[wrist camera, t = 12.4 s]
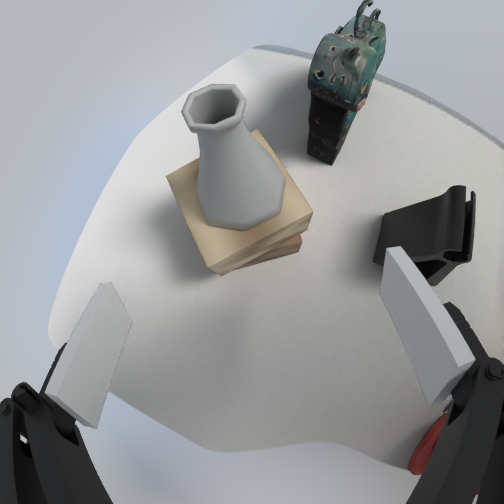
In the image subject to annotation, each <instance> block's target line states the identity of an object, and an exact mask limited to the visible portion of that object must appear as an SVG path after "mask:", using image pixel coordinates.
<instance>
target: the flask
mask: <svg viewBox="0 0 504 504" xmlns="http://www.w3.org/2000/svg"><path fill="white" fill-rule="evenodd" d="M245 106H246V98H245V97H244V96H243V94H242V93H241V92H240V90H239V89H238V88H237V86H236V85H235V84H211V85H208V86H206V87H204V88H202V89H199V90H197V91H195V92H193V93H190V94H189V96H188V98H187V100H186V102H185V104H184V107H183V109H182V111H181V112H182V115H183V117H184V119H185V121H186V123H187V125H188V127H189V129H190V131H191V132H192V133H197V135H198V141H199V147H200V160H199V173H198V180H197V187H196V196H197V199H198V201H199V203H200V205H201V208H202V210H203V212H204V214H205V217H206V219H207V221H208V223H209V225H213V226H220V227H226V228H232V229H239V230H245V231H246V230H248V229H250V228H252V227H254V226H256V225H258V224H260V223H262V222H265V221H267V220H269V219H271V218H273V217H275V216H277V215H279V214H281V208H282V202H283V196H284V191H285V185H286V179H285V177H284V175H283V174H282V172H281V171H280V169H279V167H278V166H277V164H276V163H275V161H274V159H273V158H272V156H271V155H270V153H269V152H268V151H267V150H266V149H265V148H264V147H263V146H262V145H261V144H260V143H259V142H258V141H257V140H256V139H255V138H254V137H253V135H252V134H251V133H250V132H249V131H248V129H247V127H246V125H245V121H244V117H243V113H244V109H245Z"/></svg>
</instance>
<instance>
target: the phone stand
mask: <svg viewBox="0 0 504 504" xmlns="http://www.w3.org/2000/svg"><path fill="white" fill-rule="evenodd" d="M465 200H466V186H461V185H456V186H452V187H450V188H449V189H448V190H447V191H446V192H445V193H444V194H443V195H441V196H438V197H435V198H432V199H429V200H426V201H422V202H419V203H416V204H413V205H410V206H407V207H404V208H401V209H397V210H394V211H391V212H388V213H385V214H384V218H383V223H382V227H381V232H380V236H379V240H378V244H377V248H376V252H375V256H374V260H373V262H374V263H377V264H380V265H382V266H384V262H385V255H386V248H391V247H398V246H401V247H402V249H403V250H404V251H405V252H406V254H407V255H408V256H409V258H410V259H411V260H412V262H413V263H414V264H415V266H416V267H417V268H418V270H419V271H420V272H421V274H422V275H423V276H424V278H425V279H426V281H427V282H428V283H429V284H431V285H433V286H436V285H437V284H438V283H440V282H441V281H442V280H443V279H444V278H445V277H446V276H447V275H448V274H449V273H450V272H451V271H452V270H453V269H454V268H455V267H456V266H457V265H460V264H463V263H467V262H470V261H471V259H472V250H473V241H474V228H475V209H476V195H475V192H474V191H471V200H470V201H468V202H465Z"/></svg>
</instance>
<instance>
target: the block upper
mask: <svg viewBox="0 0 504 504" xmlns="http://www.w3.org/2000/svg"><path fill="white" fill-rule="evenodd" d="M250 133H251V134H252V135H253V137H254V138H255V139H256V140H257V141H258V142H259V143H260V144H261V145H262V146H263V147H264V148H265V149H266V150H267V151H268V152H269V153H270V155H271V156H272V158H273V159H274V161H275V163H276V164H277V166H278V167H279V169H280V171H281V172H282V174H283V175H284V177H285V179H286V185H285V191H284V196H283V202H282V208H281V214H279V215H277V216H275V217H273V218H271V219H269V220H267V221H265V222H262V223H260V224H258V225H256V226H254V227H252V228H250V229H248V230H246V231H245V230H239V229H232V228H226V227H220V226H213V225H209V223H208V221H207V219H206V217H205V214H204V212H203V210H202V208H201V205H200V203H199V201H198V199H197V196H196V187H197V180H198V173H199V160H200V158H198V159H196V160H194V161H192V162H190V163H189V164H187V165H185V166H183V167H181V168H180V169H178V170H176V171H174V172H173V173H171V174H169V175H167V176H166V178H167V180H168V182H169V185H170V187H171V189H172V191H173V194H174V196H175V198H176V201H177V203H178V205H179V207H180V209H181V212H182V214H183V216H184V218H185V220H186V223H187V225H188V227H189V229H190V231H191V233H192V236H193V238H194V240H195V242H196V244H197V246H198V248H199V250H200V252H201V255H202V257H203V259H204V261H205V263H206V265H207V267H208V268H209V269H211V270H212V271H214V272H216V273H217V274H219V275H221V276H223V275H224V274H226V273H228V272H230V271H232V270H234V269H236V268H238V267H239V266H241V265H243V264H245V263H247V262H249V261H251V260H252V259H254V258H256V257H258V256H260V255H262V254H264V253H266V252H267V251H269V250H271V249H273V248H275V247H277V246H279V245H280V244H282V243H284V242H286V241H288V240H290V239H291V238H293V237H295V236H297V235H299V234H301V233H303V232H304V231H306V230H307V229H308V226H309V223H310V220H311V217H312V214H313V210H312V208H311V207H310V205H309V204H308V202H307V201H306V199H305V197H304V196H303V194H302V193H301V191H300V190H299V188H298V187H297V185H296V184H295V182H294V181H293V179H292V178H291V176H290V175H289V173H288V172H287V170H286V169H285V167H284V166H283V164H282V163H281V161H280V160H279V159H278V157H277V156H276V154H275V153H274V151H273V150H272V149H271V147H270V146H269V144H268V143H267V142H266V140H265V139H264V137H263V136H262V135H261V133H260V132H259V130H258V129H257V130H255V131H252V132H250Z"/></svg>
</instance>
